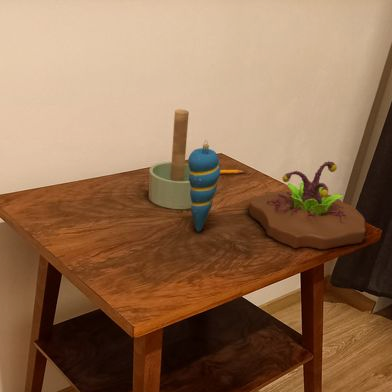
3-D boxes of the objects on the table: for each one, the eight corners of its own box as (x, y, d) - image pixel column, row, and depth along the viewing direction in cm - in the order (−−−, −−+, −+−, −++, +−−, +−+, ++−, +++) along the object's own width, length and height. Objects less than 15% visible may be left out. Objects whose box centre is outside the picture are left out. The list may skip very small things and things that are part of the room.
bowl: (141, 203, 98) (142, 176, 95) (157, 183, 106) (158, 158, 103) (195, 213, 97) (198, 186, 94) (207, 192, 105) (210, 167, 102)
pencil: (156, 171, 110) (157, 170, 109) (243, 169, 115) (244, 169, 115) (157, 175, 110) (157, 174, 110) (243, 173, 116) (245, 173, 115)
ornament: (192, 240, 89) (201, 147, 79) (176, 227, 92) (183, 137, 83) (218, 234, 91) (230, 144, 82) (202, 222, 94) (211, 134, 85)
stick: (160, 197, 100) (165, 112, 91) (167, 188, 103) (172, 106, 94) (184, 201, 99) (191, 116, 90) (190, 192, 103) (197, 110, 94)
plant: (383, 246, 93) (404, 183, 86) (280, 253, 88) (294, 186, 81) (329, 199, 108) (344, 143, 101) (238, 202, 102) (247, 142, 96)
